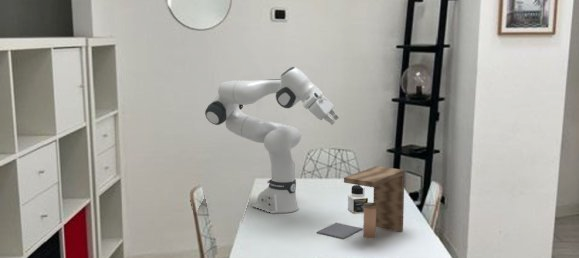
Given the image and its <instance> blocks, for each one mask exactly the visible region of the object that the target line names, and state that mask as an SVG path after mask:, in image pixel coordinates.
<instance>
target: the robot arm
mask: <svg viewBox="0 0 579 258" xmlns="http://www.w3.org/2000/svg"><path fill="white" fill-rule="evenodd" d="M217 93H218V95H216V96H215V98H214V99H213V100H212V101H211V103H209V104H208V105H207V106H206V107H207V108H205V110H204V114H205V118H206V119H207V120H208V122H209V123H211V124H213V125H216V126H219V125H221V124H224V123H225V127H226V129H227V130H228V131H229V132H231V133H233V134H234V135H236V136H239V137H241V138H244V139H246V140H249V141H251V142H255V143H257V144H263V145H264V148H265V150H266V151H267V152H268V156H269V159H270V164H271V165H270V166H271V167H270V169H271V171H270V172H271V178H270V179H268V180H266V184H268V186H267V187H266V188H265V189H263V190H262V191H261V192H260V193H259V194H258V196H257V201H256V202H255V203H253V204H252V207H253V206H254V207H256V208H255V209H257V208H259V209H258V210H260V209H262V210H261V211H263V210H265V211H264V212H266V211H267V213H269V212H270V213H269V214H281V213H282V214H284V213H285V214H286V213H292V212H293V213H294V212H297V211H298V210H299V205H298V201H297V193H296V189H297V179H296V163H295V160H293V158H292V153H291V149H294V148H295V147H296V146H297V145H298V144H299V143H300V141H301V136H302V134H301V132H300V130H299V128H297V127H296V126H292V125H288V124H287V125H286V124H284V123H279V122H276V121H275V122H273V121H269V120H265V119H262V118H259V117H256V116H253V115H251V114H247V113H244V112H243V111H242V109H243V107H244V105H245V106H246V105H252V104H254V103H256V102H258V101H260V100H261V99H263V98H264V97H266V96H269V95H272V94H275V100H276V102H277V104H278V105H279V106H280V107H281V108H284V109H291V108H293V107H294V106H295V105H296V104H298V103H299V102H300V101H301V102H302V104H303V105H302V106H303V107H304V108H305V109H306V110H308V111H309V112H310V113H311V114H312V115H314V116H315V118H316V119H318V120H320V121H322V120H325V121H327V123H329V124H330V125H331V126H333V125H334V124H335V123H336V121H337V120H338V119H339V118H340V116H339V115H338V114H337V113H336V111H335V110H334V108H335V105H334V104H333V103H332V102H331V100H329V99H328V98H327V97H326V96H325V95H323V94H324V93H323V91H322V90H321V89H320V88H318V86H317V85H316V84H314V83H313V82H311V80H310V78H309V77H308V76H307V75H306V73H304V72H303V71H302V70H301V69H299V68H297V67H296V66H292V67H289V68H288V69H287V70H285V71H284V72H283V73H282V74H281V75H280V78H275V79H273V78H271V79H270V78H269V79H258V80H242V79H240V80H239V79H237V80H236V79H235V80H227V81H223V82H221V84H220V85H219V86H218V90H217ZM330 115H331V116H332V117H331V116H330ZM254 207H253V208H254Z"/></svg>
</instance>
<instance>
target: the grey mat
mask: <svg viewBox="0 0 579 258" xmlns="http://www.w3.org/2000/svg"><path fill="white" fill-rule="evenodd" d="M360 231H363V228H362V227H359V226H358V227H357V226H353V225H350V224H344V223H339V222H335V223H332V224H330V225H328V226H326V227H324V228H322V229H320V230H317V231H316V234H320V235H324V236H327V237H332V238H337V239H339V240H340V239H341V240H345V239H347V238H349V237H351V236H353V235H354V234H355V235H356V234H357V233H359V232H360Z"/></svg>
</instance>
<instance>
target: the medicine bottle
mask: <svg viewBox="0 0 579 258" xmlns="http://www.w3.org/2000/svg"><path fill="white" fill-rule="evenodd" d="M365 188H366V186H361V185H355V184H353V185H352V186H351V194H348V195H347V209H348V210H349V211H350V212H351V213H352V214H364V203H369V202H368V201H369V198H368V196H366V195H365V191H366V189H365Z"/></svg>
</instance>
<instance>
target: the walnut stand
mask: <svg viewBox="0 0 579 258" xmlns="http://www.w3.org/2000/svg"><path fill="white" fill-rule="evenodd" d="M343 183H346V184H350V185H361V186H364V187H369V188H373V203H376V204H377V207H376V228H380V229H383V230H384V229H385V230H389V231H393V232H398V233H402V232H403V231H404V211H405V208H404V207H405V206H404V205H405V203H404V202H405V200H404V199H405V198H404V197H405V169H401V168H400V169H399V168H392V167H387V166H386V167H385V166H380V165H379V166H378V165H376V166H373V167H370V168H367V169H364V170H362V171H358V172H356V173H353V174H351V175H347V176H344V177H343Z"/></svg>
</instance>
